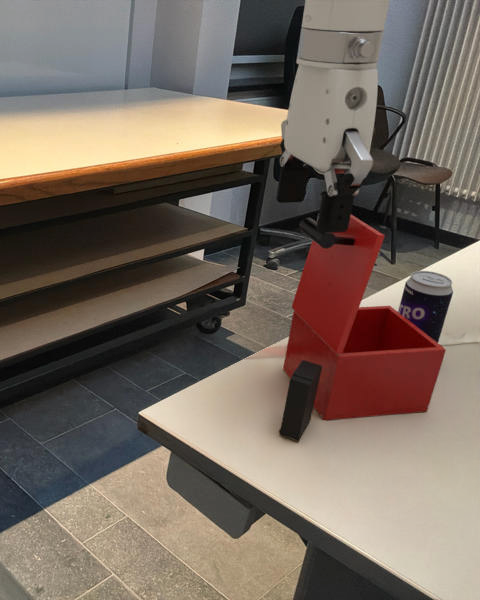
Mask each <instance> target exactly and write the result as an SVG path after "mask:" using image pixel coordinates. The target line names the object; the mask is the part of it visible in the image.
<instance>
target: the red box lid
mask: <svg viewBox="0 0 480 600" xmlns="http://www.w3.org/2000/svg"><path fill="white" fill-rule="evenodd" d="M317 222H318V221H316V220H314V219H313V218H311V217H305V218H303V219H302V220H301V221H300V223H299V225H298V228H299V230H300V231H299V232H301V233H303V234H304V235H305V236H307V237H308V238H309V239H310V240H312V241H311V243H310V247H309V251H308V253H307V256H306V260H305V262H304V266H303V269H302V272H301V276H300V279H299V282H298V285H297V288H296V292H295V294H294V298H293V301H292V304H291V309H293V311H296V312H297V313H298V315H299V316H300V317H301V318H302V319H303V320H304V321H305V322H306V323H307V324H308V325H309V326H310V327H311V328H312V329H313V330H314V331H315V332H316V333H317V334H318V335H319V336H320V337H321V338H322V339H323V340H324V341H325V342H326V343H327V344H328V345H329V346H330V347H331V348H332V349H333V350H334V351H335V352H336V353H343V350H344V347H345V345H346V342H347V339H348V336H349V334H350V331H351V328H352V325H353V323H354V320H355V317H356V314H357V312H358V309H359V307H361V303H362V301H363V298H364V295H365V292H366V289H367V287H368V284H369V281H370V279H371V276H372V273H373V270H374V267H375V264H376V262H377V259H378V256H379V254H380V250H381V248H382V246H383V243H384V239H385V237H386V236H385V234H384V233H381V232H380V231H378V230H377V229H375V228H374V227H372V226H371V225H369V224H367V223H365V222H364V221H362V220H360V219H359V218H358V217H356V216H355V215H353V214H351V216H350V221H349V225H348V229H347V230H346V231H345V232H329V233H320V232H319V231H317Z"/></svg>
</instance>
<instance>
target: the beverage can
mask: <svg viewBox="0 0 480 600" xmlns="http://www.w3.org/2000/svg"><path fill="white" fill-rule="evenodd" d="M452 285H453V280H452V279H451V278H450V277H448V276H447V275H444V274H442V273H438V272H434V271H429V270H417V271H413V272H411V274H410V277H409V278H408V279H407V280H406V281H405V284H404V288H403V291H402V295H401V299H400V303H399V307H398V310H397V312H399V313H400V314H401V315H403V316H404V317H405V318H406V319H408V320H409V321H410V322H411V323H413V324H414V325H415V326H417V327H418V328H419V329H420V330H422V331H423V332H424V333H425V334H427V335H428V336H429V337H431V338H432V339H433V340H434V341H436V342H437V343H438V344H439V341H440V337H441V334H442V332H443V328H444V325H445V322H446V319H447V315H448V312H449V308H450V305H451V301H452V297H453V294H454V290H453V286H452Z"/></svg>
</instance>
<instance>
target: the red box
mask: <svg viewBox="0 0 480 600" xmlns="http://www.w3.org/2000/svg"><path fill="white" fill-rule="evenodd" d="M290 323H291V324H290V329H289V334H288V340H287V345H286V350H285V356H284V360H283V361H284V362H283V366H282V370H283V371H284V372H285V374H286V375H287V376H288V377H289V379H290V378H291V377H292V375H293V373H294V371H295V370H296V369H297V367H298V366H299V364H300V363H301V361H303V360H305V361H308V362H311V363H315V364H318V365H321V366H322V370H321V375H320V379H319V384H318V388H317V393H316V397H315V402H314V407H313V409H315V410H316V412H317V413H318V415H320V417H321V418H322V419H323V420H324V421H329V420H340V419H352V418H353V419H355V418H366V417H377V416H379V417H380V416H387V415H388V416H390V415H402V414H412V413H424V412H428V409H429V406H430V403H431V399H432V396H433V393H434V390H435V387H436V383H437V380H438V376H439V374H440V370H441V367H442V364H443V360H444V357H445V354H446V348H445V347H443V346H442V345H441V344H440V343H439V342H438V343H437V342H436V341H434V340H433V339H432V338H431V337H429V336H428V335H427V334H425V333H424V332H423V331H422V330H420V329H419V328H418V327H417V326H415V325H414V324H413V323H411V322H410V321H409V320H408V319H406V318H405V317H404V316H403V315H401V314H400V313H399V312H398V310H397V309H395V308H394V307H392V305H376V306H375V305H374V306H359V309H358V312H357V314H356V317H355V320H354V323H353V325H352V328H351V331H350V334H349V336H348V339H347V342H346V345H345V347H344V350H343V353H336V352H335V351H334V350H333V349H332V348H331V347H330V346H329V345H328V344H327V343H326V342H325V341H324V340H323V339H322V338H321V337H320V336H319V335H318V334H317V333H316V332H315V331H314V330H313V329H312V328H311V327H310V326H309V325H308V324H307V323H306V322H305V321H304V320H303V319H302V318H301V317H300V316H299V315H298V313H297V312H296V311H295V310H293V312H292V319H291V322H290Z"/></svg>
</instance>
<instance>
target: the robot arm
mask: <svg viewBox="0 0 480 600" xmlns="http://www.w3.org/2000/svg"><path fill="white" fill-rule="evenodd" d="M389 6H390V0H305V1H304V9H303V14H302V15H303V16H302V22H301V29H300V36H299V41H298V49H297V56H296V61H295V63H296V64H297V65H298V67H297V70H296V74H295V78H294V82H293V85H292V90H291V95H290V98H289V99H290V100H289V105H288V109H287V116H286V119H284V120H283V121H281V124H280V130H281V131H280V132H281V141H280V144H279V147H280V151H281V154H282V155H281V156H280V158H279V165H280V170H279V178H278V184H277V190H276V197H275V199H276V202H278V203H279V204H284V203H285V204H286V203H289V204H290V203H302V202H304V200H305V197H306V191H307V185H308V180H309V173H310V167H312V168H313V169H315V170H317V171H320V172H322V173H323V176H324V181H325V186H326V193H322V195H321V199H320V200H321V201H320V206H319V211H318V217H317V221H316V222H317V231H319V232H320V233H329V232H345V231H346V230H347V229H348V225H349V221H350V216H351V215H352V210H353V205H354V200H355V196H358V195H359V193H360V188H361V187H363V186H364V184H365V182H366V179H367V176H368V174H369V173H370V172H371V170H372V167H373V165H374V159H373V156H372V155H371V154H370V152H371V147H372V140H373V134H374V129H375V128H374V127H375V120H376V111H377V105H378V103H377V102H378V88H379V87H378V86H379V74H378V73H379V71H378V69H377V66H378V61H379V56H380V51H381V45H382V41H383V37H384V31H385V26H386V21H387V16H388V11H389ZM307 165H308V166H307ZM309 166H310V167H309ZM337 174H343V175H342V177H340V178H339V179H338V178H337ZM337 179H338V180H337Z"/></svg>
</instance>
